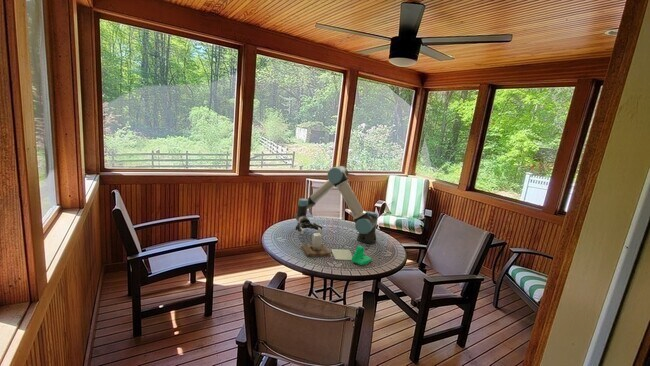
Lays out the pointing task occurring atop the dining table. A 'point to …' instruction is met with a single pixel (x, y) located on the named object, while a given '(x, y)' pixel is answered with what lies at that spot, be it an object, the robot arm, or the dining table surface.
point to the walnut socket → (310, 253)
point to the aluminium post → (316, 242)
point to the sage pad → (342, 254)
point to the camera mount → (360, 256)
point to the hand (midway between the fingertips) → (312, 232)
